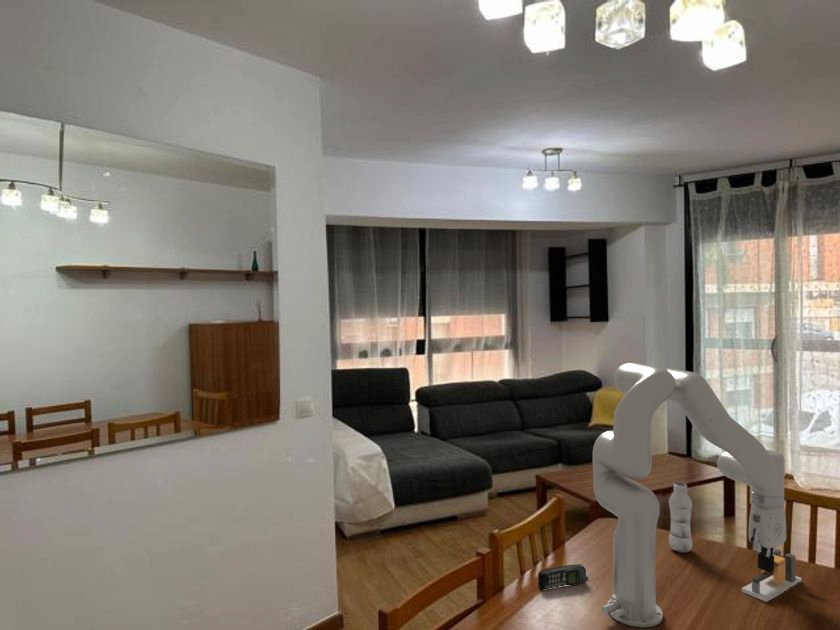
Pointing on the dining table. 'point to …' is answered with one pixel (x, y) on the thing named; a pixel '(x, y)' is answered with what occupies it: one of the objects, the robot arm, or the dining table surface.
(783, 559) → the orange bracket
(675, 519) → the plastic bottle
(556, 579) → the mobile phone
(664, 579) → the dining table surface
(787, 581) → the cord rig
